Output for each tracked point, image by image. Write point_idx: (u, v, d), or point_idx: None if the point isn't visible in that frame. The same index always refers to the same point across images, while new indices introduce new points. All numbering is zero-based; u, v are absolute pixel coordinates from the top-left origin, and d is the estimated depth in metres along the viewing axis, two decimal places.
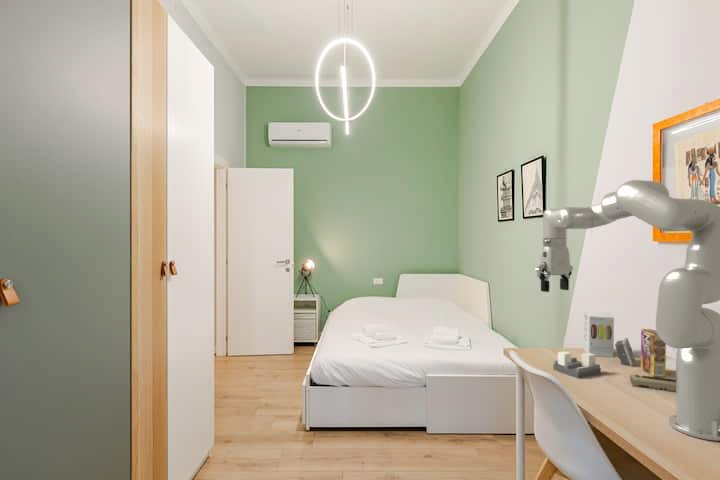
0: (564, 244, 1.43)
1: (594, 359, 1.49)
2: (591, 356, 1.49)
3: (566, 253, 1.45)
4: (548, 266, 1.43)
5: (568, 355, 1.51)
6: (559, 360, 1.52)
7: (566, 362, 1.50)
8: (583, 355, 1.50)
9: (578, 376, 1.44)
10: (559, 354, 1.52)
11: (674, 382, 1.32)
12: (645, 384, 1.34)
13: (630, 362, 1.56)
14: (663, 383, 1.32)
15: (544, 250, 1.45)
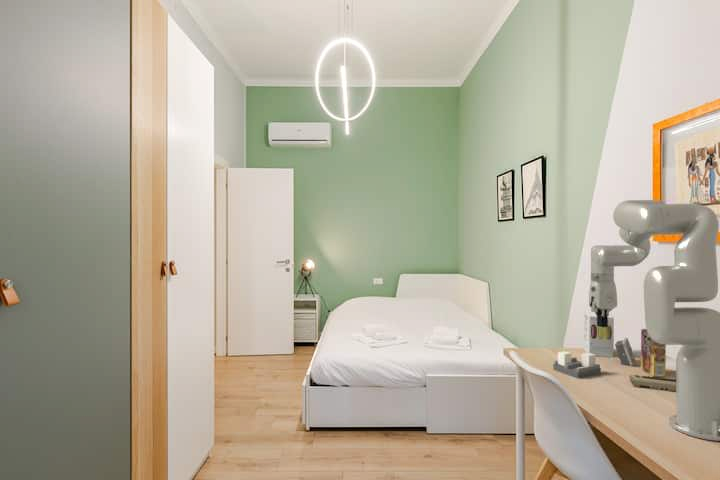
0: (612, 280, 1.50)
1: (594, 359, 1.49)
2: (591, 356, 1.49)
3: (613, 288, 1.52)
4: (597, 301, 1.50)
5: (568, 355, 1.51)
6: (559, 360, 1.52)
7: (566, 362, 1.50)
8: (583, 355, 1.50)
9: (578, 376, 1.44)
10: (559, 354, 1.52)
11: (674, 382, 1.32)
12: (646, 384, 1.34)
13: (630, 362, 1.56)
14: (664, 383, 1.32)
15: (592, 285, 1.52)
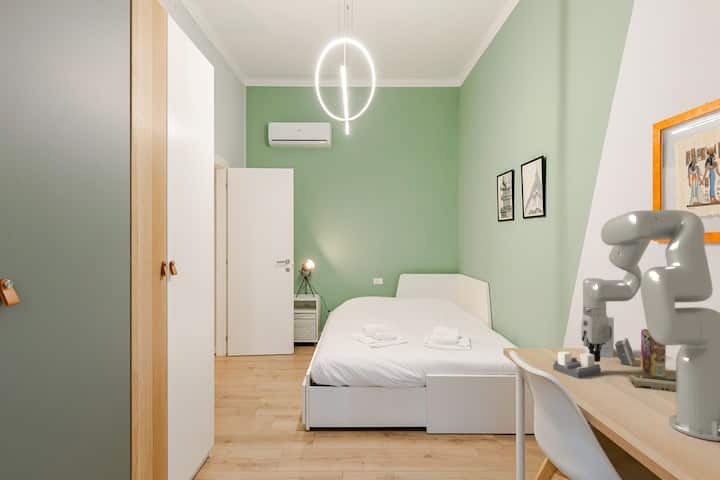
0: (604, 314, 1.48)
1: (593, 359, 1.49)
2: (590, 356, 1.48)
3: (606, 322, 1.50)
4: (589, 335, 1.48)
5: (568, 355, 1.51)
6: (559, 360, 1.52)
7: (566, 362, 1.50)
8: (582, 355, 1.50)
9: (578, 376, 1.44)
10: (559, 354, 1.52)
11: (674, 382, 1.32)
12: (647, 385, 1.34)
13: (630, 362, 1.56)
14: (664, 383, 1.32)
15: (584, 319, 1.50)
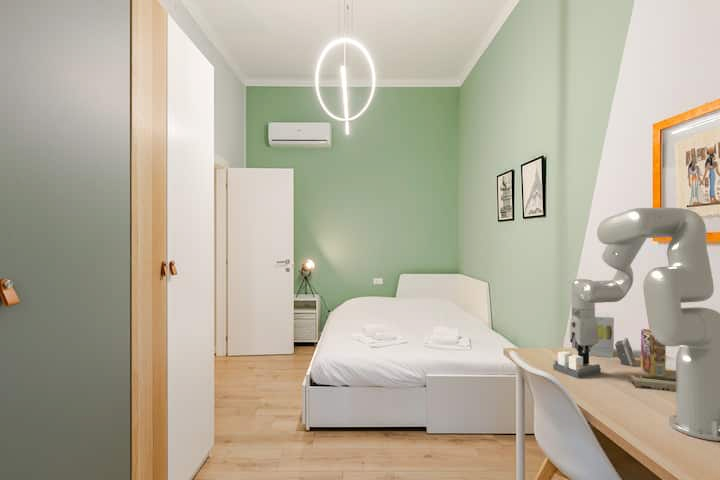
0: (593, 315, 1.46)
1: (581, 361, 1.47)
2: (578, 358, 1.46)
3: (595, 323, 1.48)
4: (577, 337, 1.45)
5: (568, 355, 1.51)
6: (559, 360, 1.52)
7: (566, 362, 1.50)
8: (570, 357, 1.47)
9: (578, 376, 1.44)
10: (559, 354, 1.52)
11: (675, 382, 1.33)
12: (647, 385, 1.33)
13: (630, 362, 1.56)
14: (665, 383, 1.32)
15: (573, 320, 1.48)
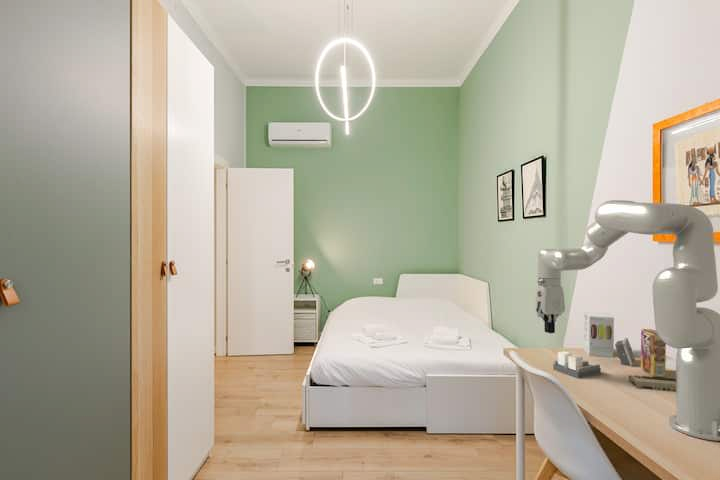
0: (558, 284, 1.46)
1: (581, 361, 1.46)
2: (578, 358, 1.46)
3: (560, 293, 1.48)
4: (542, 306, 1.45)
5: (568, 355, 1.51)
6: (559, 360, 1.52)
7: (566, 362, 1.50)
8: (570, 357, 1.47)
9: (578, 376, 1.44)
10: (559, 354, 1.52)
11: (675, 381, 1.33)
12: (648, 385, 1.33)
13: (630, 362, 1.56)
14: (666, 383, 1.32)
15: (539, 290, 1.48)
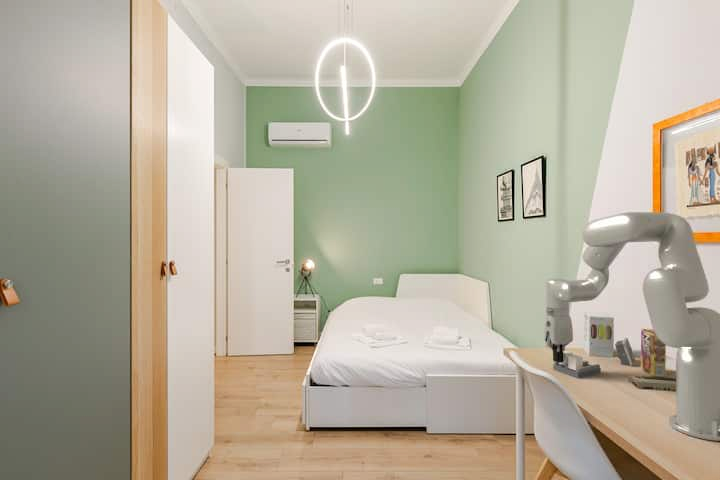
0: (567, 314, 1.47)
1: (581, 361, 1.46)
2: (578, 358, 1.46)
3: (569, 322, 1.49)
4: (551, 336, 1.47)
5: (569, 355, 1.51)
6: None
7: (567, 362, 1.51)
8: (570, 357, 1.47)
9: (578, 376, 1.44)
10: None
11: (675, 381, 1.33)
12: (649, 385, 1.33)
13: (630, 362, 1.56)
14: (666, 383, 1.32)
15: (547, 319, 1.49)
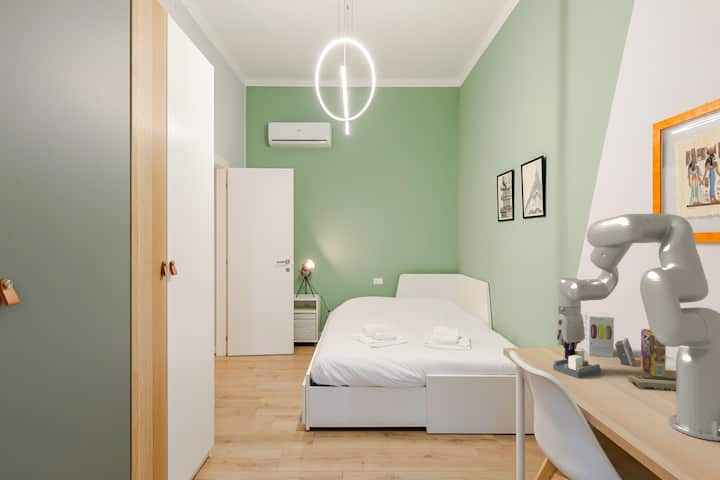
0: (579, 313, 1.50)
1: (581, 361, 1.46)
2: (578, 358, 1.46)
3: (581, 321, 1.52)
4: (563, 334, 1.50)
5: (581, 353, 1.54)
6: None
7: None
8: (570, 357, 1.47)
9: (578, 376, 1.44)
10: None
11: (675, 381, 1.33)
12: (650, 385, 1.33)
13: (630, 362, 1.56)
14: (667, 383, 1.32)
15: (559, 318, 1.52)
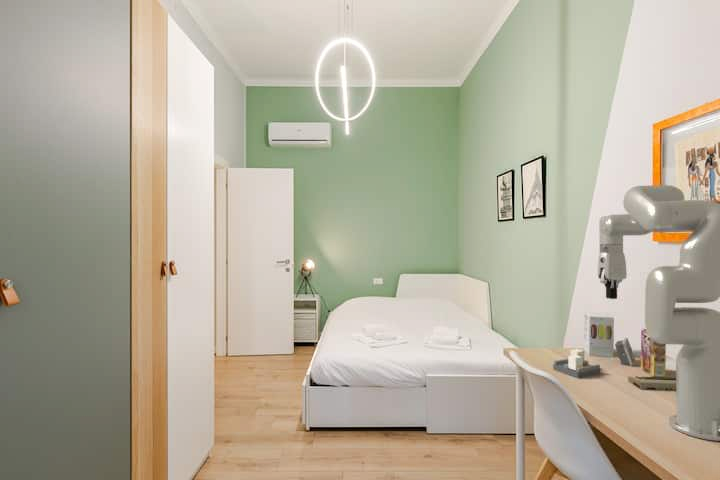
0: (621, 250, 1.48)
1: (581, 361, 1.46)
2: (578, 358, 1.46)
3: (623, 259, 1.50)
4: (606, 271, 1.48)
5: (581, 353, 1.54)
6: None
7: None
8: (570, 357, 1.47)
9: (578, 376, 1.44)
10: (572, 352, 1.55)
11: (675, 381, 1.33)
12: (652, 386, 1.32)
13: (630, 362, 1.56)
14: (668, 383, 1.32)
15: (601, 256, 1.50)
